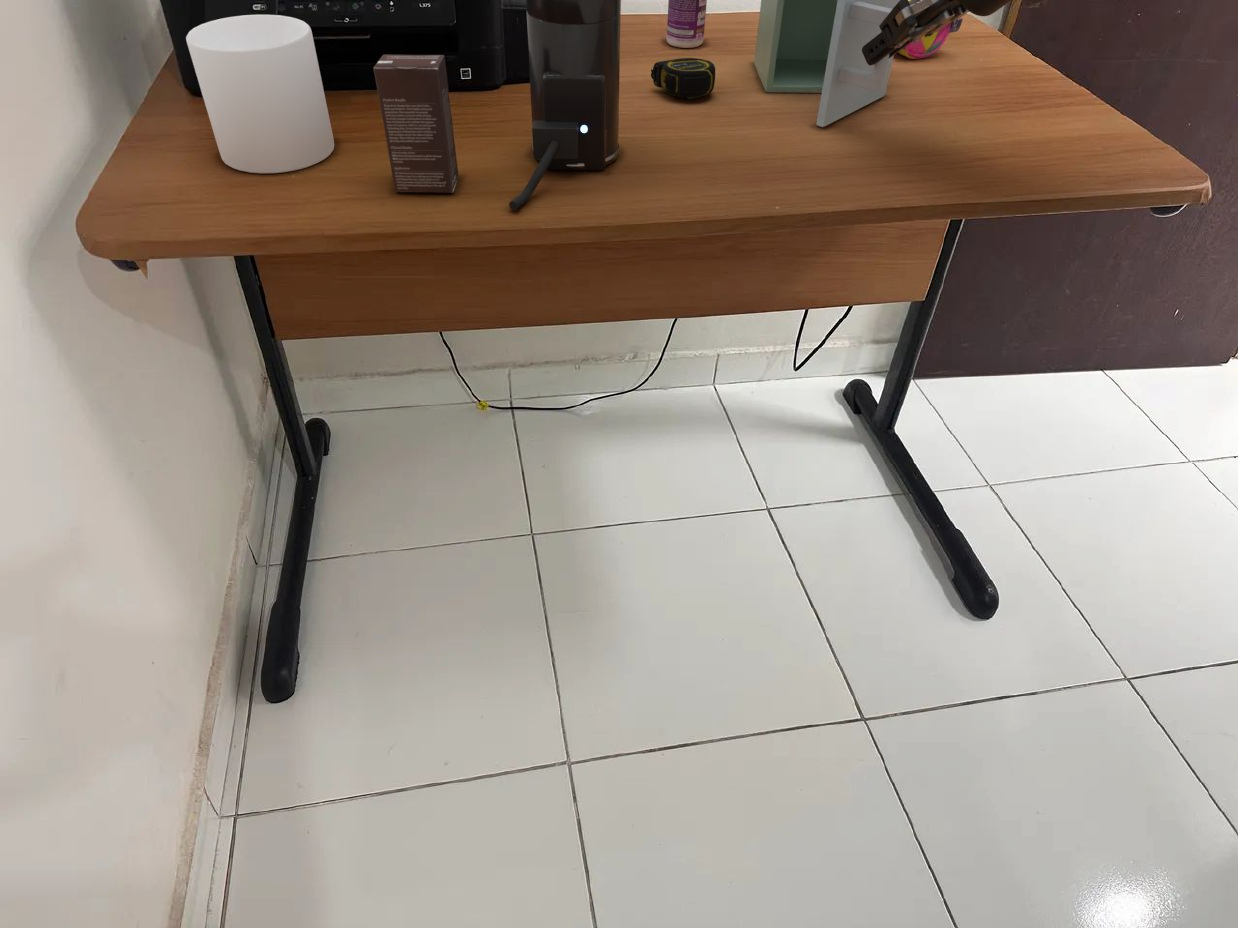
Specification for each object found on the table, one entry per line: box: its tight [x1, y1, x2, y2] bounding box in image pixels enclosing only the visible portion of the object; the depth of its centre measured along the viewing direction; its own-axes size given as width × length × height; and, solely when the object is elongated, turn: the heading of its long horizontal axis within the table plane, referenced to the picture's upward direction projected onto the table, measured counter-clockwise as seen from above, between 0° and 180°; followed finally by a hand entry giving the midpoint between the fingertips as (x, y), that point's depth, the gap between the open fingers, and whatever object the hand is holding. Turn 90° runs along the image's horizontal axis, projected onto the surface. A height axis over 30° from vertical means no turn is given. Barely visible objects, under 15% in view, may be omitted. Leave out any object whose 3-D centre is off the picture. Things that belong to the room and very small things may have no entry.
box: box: [373, 54, 460, 194], centre depth 84 cm, size 6×4×12 cm
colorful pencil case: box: [898, 0, 964, 60], centre depth 123 cm, size 22×9×9 cm, turn 26°
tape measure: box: [650, 57, 716, 100], centre depth 107 cm, size 7×7×4 cm
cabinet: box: [753, 0, 838, 94], centre depth 108 cm, size 11×15×17 cm
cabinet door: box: [815, 0, 900, 128], centre depth 98 cm, size 6×15×16 cm, turn 138°
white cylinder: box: [185, 14, 335, 174], centre depth 89 cm, size 12×12×12 cm
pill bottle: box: [665, 0, 708, 49], centre depth 120 cm, size 5×5×10 cm
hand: (872, 55), depth 95 cm, fingers closed
